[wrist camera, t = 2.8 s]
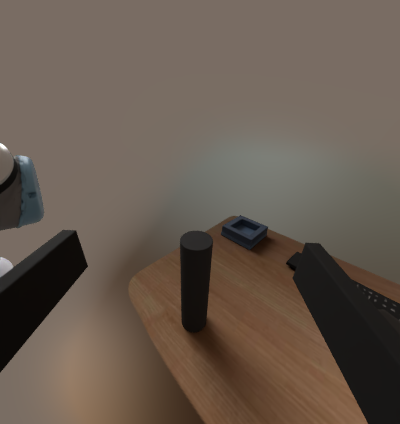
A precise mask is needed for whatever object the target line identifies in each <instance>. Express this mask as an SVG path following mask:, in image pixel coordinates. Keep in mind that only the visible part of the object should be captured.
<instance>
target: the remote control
mask: <svg viewBox="0 0 400 424" xmlns="http://www.w3.org/2000/svg"><path fill="white" fill-rule="evenodd" d="M300 257H301V253H299V252H296V253H295V254H294V255H293V256H292V257H291V258H290V259H289V260H288V261H287V263H286V264H287V265H289V266H291V267H293V268H294V269H296V268H297V265H298V262H299V260H300ZM351 280H352V279H351ZM352 281H353V282H354V283H355V284H356V285H357V287H358V288H359V289H360V290H361V291H362V292H363V293H364V294H365V296H366V297H367V298H368V299H369V300H370V301H371V302H372V304H373V305H374V306H375V307H376V308H377V309H382V310H386V311H387V312H388V313H390V314H391V315H392V316H394V317H395V318H396V319H398V320H399V321H400V304H399V303H397V302H395V301H393V300H391V299H389V298H387V297H385V296H383V295H381V294H379V293H377V292H375V291H373V290H371V289H369V288H367V287H365V286H364V285H362V284H360V283H358V282H356V281H354V280H352Z"/></svg>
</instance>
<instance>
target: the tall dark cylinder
mask: <svg viewBox="0 0 400 424" xmlns="http://www.w3.org/2000/svg"><path fill="white" fill-rule="evenodd" d="M212 246H213V239H212V237H211V236H210V235H209V234H207V233H205V232H202V231H190V232H187V233H185V234H184V235H183V236H182V237H181V239H180V259H181V311H182V325H183V327H184V328H185V329H186V330H187V331H189V332H199V331H200V330H202V329H203V328H204V326H205V324H206V318H207V306H208V294H209V282H210V270H211V258H212Z"/></svg>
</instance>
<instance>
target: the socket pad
mask: <svg viewBox="0 0 400 424" xmlns="http://www.w3.org/2000/svg"><path fill="white" fill-rule="evenodd" d="M267 229H268V227H267V226H264V225H262V224H260V223H258V222H255V221H253V220H250V219H248V218H246V217H243V216H241V215H240V216H239V217H237V218H235V219H234V220H232V221H230V222H228V223H227V224H225V225H223V227H222V232H221V235H223V236H225V237H226V238H228V239H230V240H232V241H234V242H236V243H238V244H240V245H241V246H243V247H245V248H247V249H249V250H250V249H251V248H252V247H254V246H255V245H256V244H257V243H258V242H259V241H261V240H262V239H263V238H264V237H265V236H266V235H267Z"/></svg>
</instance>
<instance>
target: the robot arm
mask: <svg viewBox="0 0 400 424" xmlns="http://www.w3.org/2000/svg"><path fill="white" fill-rule="evenodd" d="M43 215H44V209H43V202H42V197H41V192H40V188H39V183H38V179H37V175H36V171H35V168H34V165H33V162H32V160H31V159H30V158H28V157H25V156H19V155H16V156H15V157H13V156H12V155H11V153H10V152H9V150H8V149H7V148H6V147H5V146H4V145H2V144H1V143H0V230H5V229H10V228H15V227H16V228H20V227H21V226H24V225H28V224H32V223H36V222H38V221H40V220H41V219H42V218H43ZM87 267H88V265H87V262H86V259H85V256H84V253H83V250H82V247H81V244H80V242H79V238H78V235H77V232H76V231H74V230H62V231H61V232H60V233H58V234H57V235H56V236H54V237H53V238H52V239H50V240H49V241H48V242H47V243H45V244H44V245H42V246H41V247H40V248H38V249H37V250H36V251H35V252H33V253H32V254H31V255H29V256H28V257H27V258H25V259H24V260H23V261H21V262H20V263H19V264H17V265H16V266H15V267H13V268H12V269H11V270H9V271H8V272H7V273H5V274H4V275H3V276H1V277H0V372H1V371H2V370H3V368H4V367H5V366H6V365H7V364H8V362H9V361H10V360H11V359H12V358H13V356H14V355H15V354H16V353H17V351H18V350H19V349H20V348H21V347H22V345H23V344H24V343H25V342H26V340H27V339H28V338H29V337H30V336H31V335H32V333H33V332H34V331H35V330H36V329H37V327H38V326H39V325H40V324H41V323H42V321H43V320H44V319H45V318H46V316H47V315H48V314H49V313H50V312H51V310H52V309H53V308H54V307H55V306H56V304H57V303H58V302H59V301H60V299H61V298H62V297H63V296H64V295H65V293H66V292H67V291H68V290H69V289H70V287H71V286H72V285H73V284H74V283H75V281H76V280H77V279H78V278H79V277H80V275H81V274H82V273H83V272H84V270H85V269H86V268H87ZM293 280H294V282H295V284H296V286H297V288H298V290H299V292H300V293H301V295H302V297H303V299H304V301H305V303H306V305H307V307H308V309H309V311H310V313H311V315H312V317H313V318H314V320H315V322H316V324H317V326H318V328H319V330H320V332H321V334H322V336H323V338H324V340H325V342H326V343H327V345H328V347H329V349H330V351H331V353H332V355H333V357H334V359H335V361H336V363H337V365H338V366H339V368H340V370H341V372H342V374H343V376H344V378H345V380H346V382H347V384H348V386H349V388H350V390H351V391H352V393H353V395H354V397H355V399H356V401H357V403H358V405H359V407H360V409H361V411H362V413H363V415H364V416H365V418H366V420H367V422H368V424H400V321H399V320H398V319H396V318H395V317H394V316H392V315H391V314H390V313H388V312H387V311H386V310H382V309H377V308H376V307H375V306H374V305H373V304H372V302H371V301H370V300H369V299H368V298H367V297H366V296H365V294H364V293H363V292H362V291H361V290H360V289H359V288H358V287H357V285H356V284H355V283H354V282H353V281H352V280H351V279H350V277H349V276H348V275H347V274H346V273H345V272H344V271H343V270H342V268H341V267H340V266H339V265H338V264H337V263H336V262H335V260H334V259H333V258H332V257H331V256H330V255H329V254H328V253H327V252H326V251H325V249H324V248H323V247H322V246H321V245H320V244H319V243H305V246H304V249H303V251H302V254H301V257H300V260H299V262H298V265H297V268H296V270H295V273H294V276H293Z"/></svg>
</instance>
